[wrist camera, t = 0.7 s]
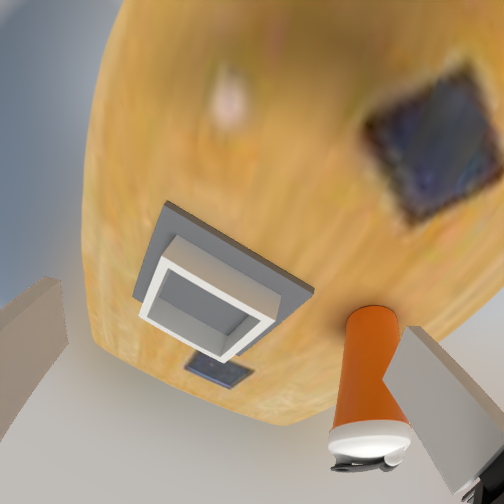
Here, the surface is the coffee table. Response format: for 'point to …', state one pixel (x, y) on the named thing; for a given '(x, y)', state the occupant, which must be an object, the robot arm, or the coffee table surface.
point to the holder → (212, 287)
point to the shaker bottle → (368, 397)
